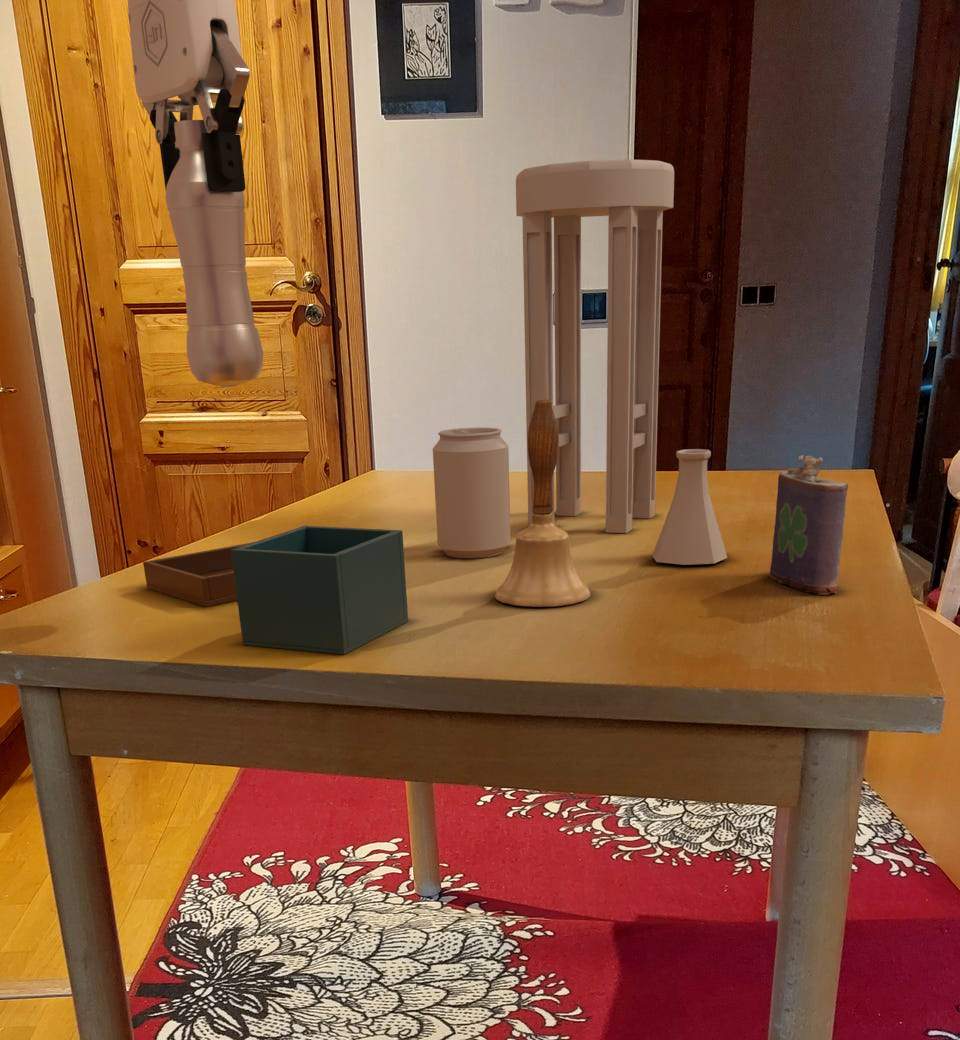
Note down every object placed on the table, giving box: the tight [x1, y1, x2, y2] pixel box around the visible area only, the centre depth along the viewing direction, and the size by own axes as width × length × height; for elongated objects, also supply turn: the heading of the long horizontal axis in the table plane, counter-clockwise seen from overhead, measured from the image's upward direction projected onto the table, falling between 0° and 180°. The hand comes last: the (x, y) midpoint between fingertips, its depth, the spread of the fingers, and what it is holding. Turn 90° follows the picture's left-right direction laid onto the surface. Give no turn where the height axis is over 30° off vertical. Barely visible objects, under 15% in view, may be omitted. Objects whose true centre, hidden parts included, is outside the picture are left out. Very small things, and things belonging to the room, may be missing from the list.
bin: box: [231, 525, 409, 655], centre depth 92 cm, size 10×9×7 cm
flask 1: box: [651, 448, 728, 566], centre depth 111 cm, size 7×7×10 cm
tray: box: [142, 541, 254, 608], centre depth 111 cm, size 16×11×2 cm
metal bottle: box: [164, 119, 264, 388], centre depth 100 cm, size 6×7×20 cm
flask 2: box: [769, 455, 849, 596], centre depth 100 cm, size 9×3×11 cm, turn 16°
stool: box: [515, 158, 675, 534], centre depth 126 cm, size 16×16×35 cm
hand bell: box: [494, 400, 591, 608], centre depth 98 cm, size 8×8×16 cm
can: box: [432, 427, 512, 559], centre depth 117 cm, size 8×8×12 cm
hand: (205, 192), depth 97 cm, fingers closed on metal bottle, 6 cm apart
